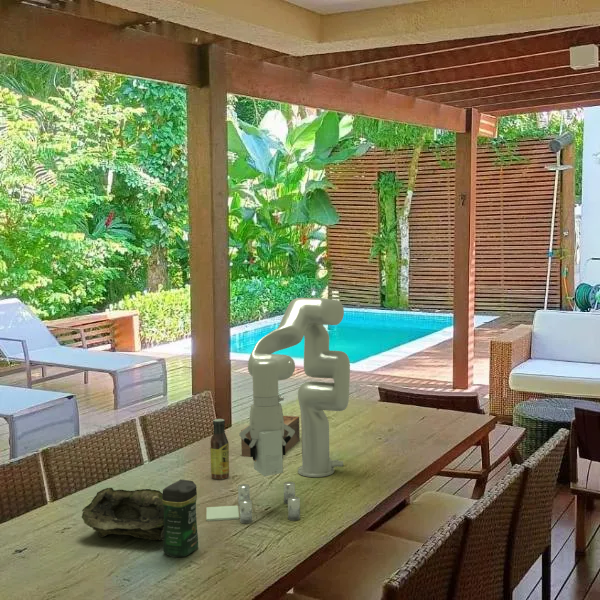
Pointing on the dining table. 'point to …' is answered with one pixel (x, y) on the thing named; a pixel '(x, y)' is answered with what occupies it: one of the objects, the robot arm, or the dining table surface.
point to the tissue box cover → (291, 422)
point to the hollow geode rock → (127, 513)
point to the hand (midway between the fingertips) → (267, 458)
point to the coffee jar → (180, 518)
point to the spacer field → (288, 499)
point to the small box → (269, 453)
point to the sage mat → (222, 513)
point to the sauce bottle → (219, 451)
